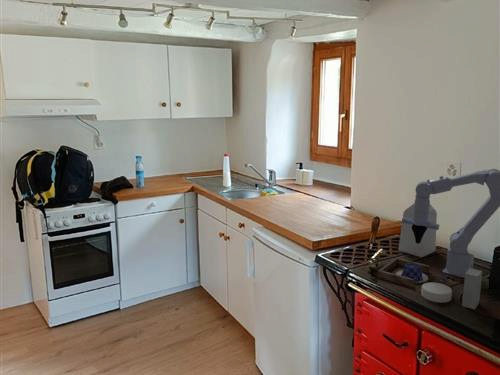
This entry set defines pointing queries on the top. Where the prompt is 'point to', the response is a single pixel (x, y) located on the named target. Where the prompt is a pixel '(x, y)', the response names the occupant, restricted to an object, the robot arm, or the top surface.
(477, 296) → the skincare box
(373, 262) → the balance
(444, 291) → the white short cylinder
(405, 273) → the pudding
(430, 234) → the milk
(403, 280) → the holder
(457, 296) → the top surface
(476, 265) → the top surface
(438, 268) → the top surface
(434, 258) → the top surface
